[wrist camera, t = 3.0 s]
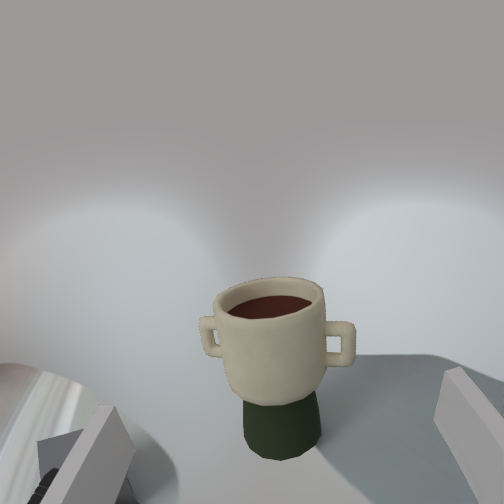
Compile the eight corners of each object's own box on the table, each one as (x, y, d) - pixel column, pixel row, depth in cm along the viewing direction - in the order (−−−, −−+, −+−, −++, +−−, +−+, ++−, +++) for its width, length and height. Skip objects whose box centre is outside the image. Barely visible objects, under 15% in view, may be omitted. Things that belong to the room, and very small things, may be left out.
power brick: (59, 472, 19) (37, 441, 18) (117, 455, 22) (100, 423, 21) (79, 552, 11) (48, 526, 10) (153, 532, 14) (131, 505, 14)
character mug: (354, 413, 25) (358, 274, 22) (342, 476, 18) (352, 324, 15) (238, 402, 29) (215, 275, 25) (205, 454, 22) (164, 315, 19)
